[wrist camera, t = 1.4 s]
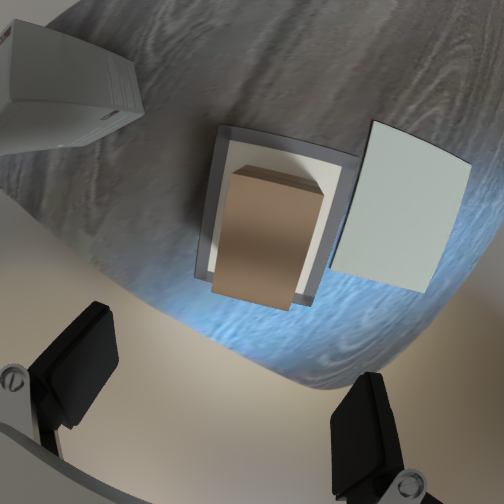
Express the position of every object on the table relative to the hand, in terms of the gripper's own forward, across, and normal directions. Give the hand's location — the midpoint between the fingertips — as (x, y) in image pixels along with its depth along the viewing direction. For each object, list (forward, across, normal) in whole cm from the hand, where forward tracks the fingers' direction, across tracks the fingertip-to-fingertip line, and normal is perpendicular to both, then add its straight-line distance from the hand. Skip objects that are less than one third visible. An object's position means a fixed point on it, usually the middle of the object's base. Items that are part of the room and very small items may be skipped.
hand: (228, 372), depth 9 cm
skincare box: (+17, +18, -10) cm, 27 cm away
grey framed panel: (+17, 0, -1) cm, 17 cm away
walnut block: (+17, 0, 0) cm, 17 cm away
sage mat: (+17, -12, -4) cm, 21 cm away
